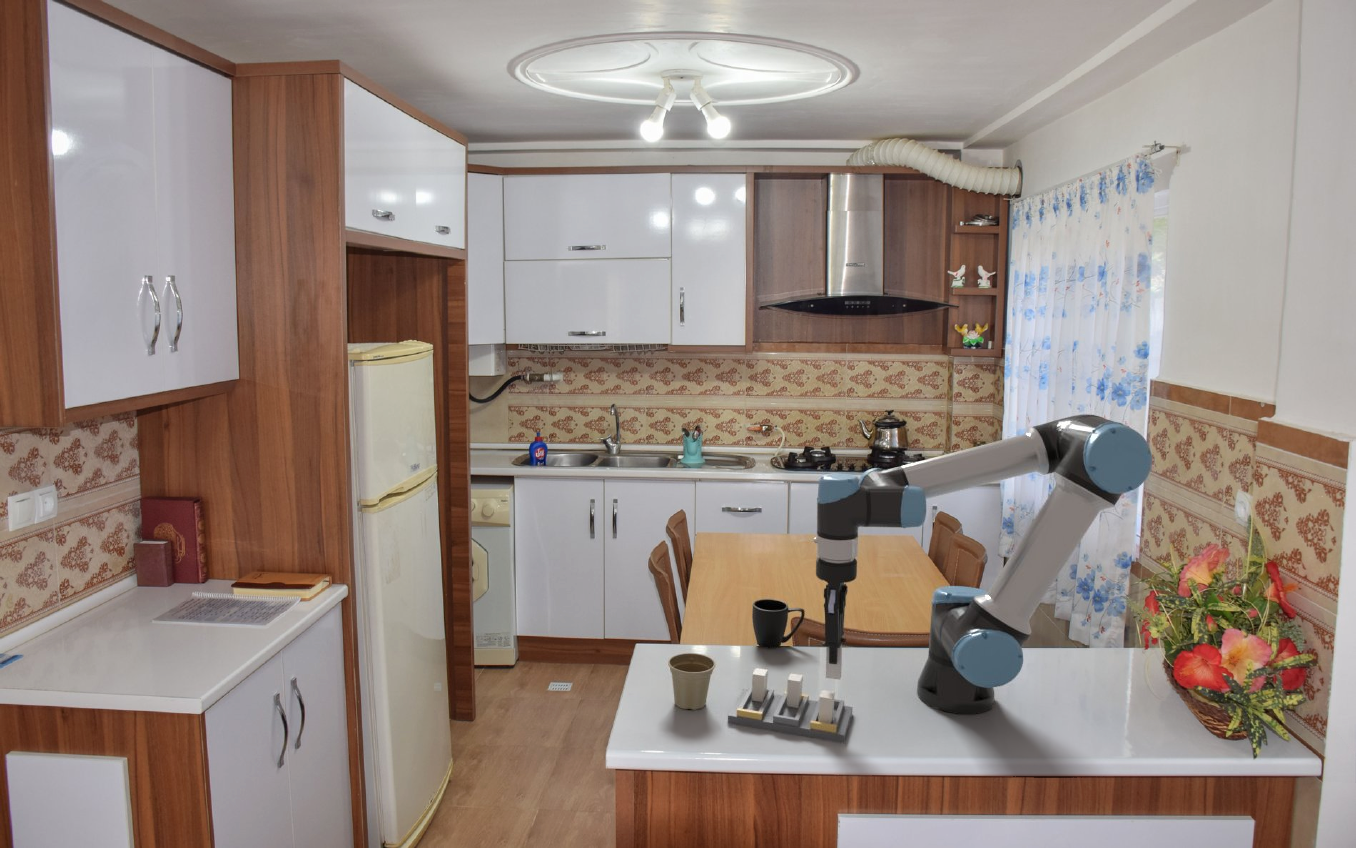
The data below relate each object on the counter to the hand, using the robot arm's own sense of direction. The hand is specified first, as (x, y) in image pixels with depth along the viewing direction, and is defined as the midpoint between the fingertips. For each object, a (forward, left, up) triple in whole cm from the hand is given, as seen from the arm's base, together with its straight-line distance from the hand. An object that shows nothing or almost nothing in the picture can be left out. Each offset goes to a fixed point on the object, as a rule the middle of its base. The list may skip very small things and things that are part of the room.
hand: (833, 677), depth 172 cm
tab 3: (+1, +3, -8) cm, 8 cm away
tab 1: (+15, -2, -8) cm, 17 cm away
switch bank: (+8, +1, -9) cm, 12 cm away
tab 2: (+8, -2, -8) cm, 11 cm away
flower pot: (+28, +2, -10) cm, 29 cm away
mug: (+18, -34, -10) cm, 40 cm away
